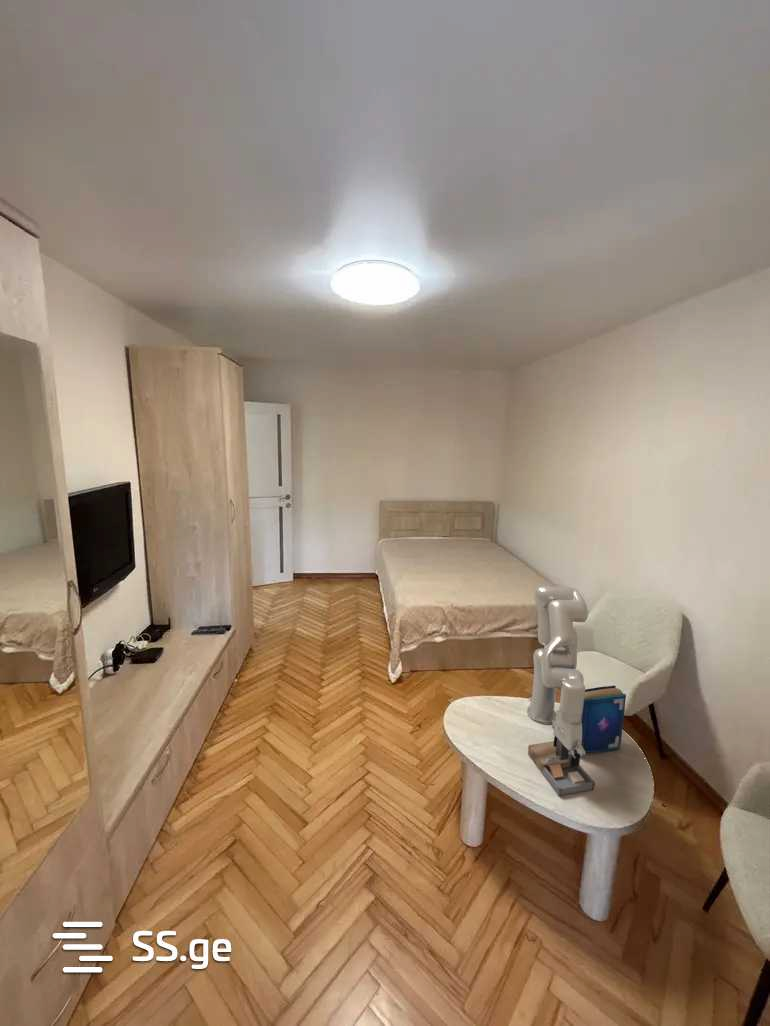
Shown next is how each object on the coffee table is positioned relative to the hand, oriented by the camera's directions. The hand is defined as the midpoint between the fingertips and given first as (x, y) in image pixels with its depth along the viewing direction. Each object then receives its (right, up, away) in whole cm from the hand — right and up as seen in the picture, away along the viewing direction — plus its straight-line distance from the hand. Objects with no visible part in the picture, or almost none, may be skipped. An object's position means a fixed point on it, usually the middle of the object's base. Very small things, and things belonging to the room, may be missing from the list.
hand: (565, 755), depth 153 cm
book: (+17, -6, +16) cm, 24 cm away
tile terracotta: (-3, -7, +2) cm, 8 cm away
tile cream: (+3, -7, -1) cm, 8 cm away
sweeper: (0, -4, +3) cm, 5 cm away
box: (0, -9, -1) cm, 9 cm away
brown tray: (-2, -7, +9) cm, 12 cm away
